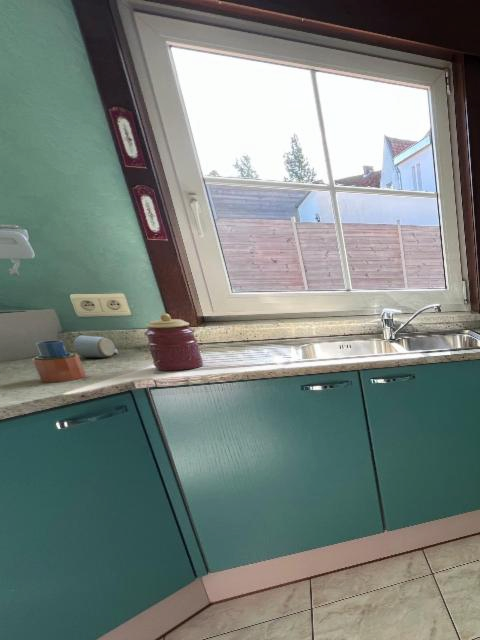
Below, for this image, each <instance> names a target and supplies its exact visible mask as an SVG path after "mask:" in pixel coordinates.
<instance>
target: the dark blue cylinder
mask: <svg viewBox="0 0 480 640" xmlns="http://www.w3.org/2000/svg"><path fill="white" fill-rule="evenodd" d="M35 344H36V347H37V350H38V352H39V356H40V355H41V357H42V358H53V357H63V356H68V354H67V353H68V351H67V348H66V346H65V343H64V340H44V341H38V342H35Z"/></svg>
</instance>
